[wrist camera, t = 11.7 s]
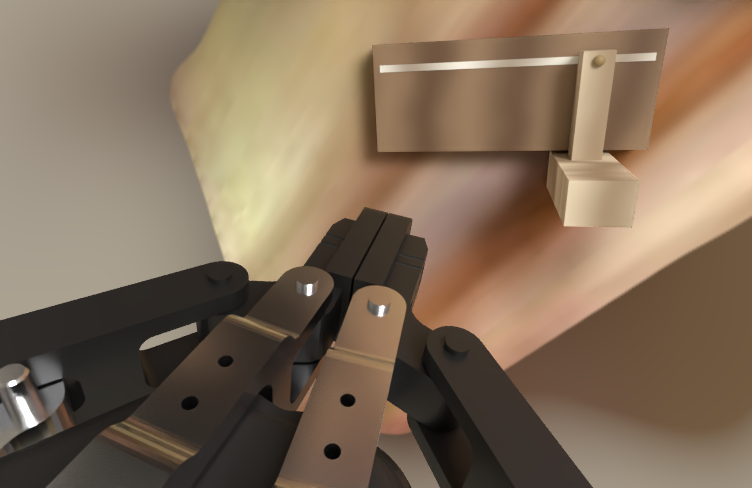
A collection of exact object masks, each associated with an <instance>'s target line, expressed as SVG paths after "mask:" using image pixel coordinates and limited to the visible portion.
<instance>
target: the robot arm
mask: <svg viewBox="0 0 752 488" xmlns="http://www.w3.org/2000/svg"><path fill="white" fill-rule="evenodd" d="M411 226H412V219H411V218H407V217H403V216H399V215H395V214H391V213H389V214H388V213H387V212H383V211H379V210H375V209H371V208H367V207H365V208H364V209H363V211H362V212H361V214H360V215H359V217H358V218H357V220H356V221H354V220H350V219H346V218H344V219H342V220H341V221H339V222H337V223H335V224H333V225H332V226H331V228H330V229H329V231H328V232H327V234H326V236H324V238H323V239H322V241H321V243H319V245H318V246H317V248H316V249H315V250H314V252H313V253H312V255H311V256H310V257H309V259H308V260H307V262H306V263H305V265H304V266H301V267H296V268H292V269H290V270H288V271H287V272H285V273H284V274H283V275H282V276H281V277H280V278H279V279H278V281H274V282H266V281H249V276H248V272H247V271H246V269H245V268H244V267H242V266H241V265H239V264H236V263H233V262H226V261H219V262H213V263H208V264H205V265H201V266H197V267H194V268H190V269H186V270H183V271H179V272H175V273H172V274H168V275H164V276H161V277H157V278H153V279H150V280H146V281H142V282H139V283H135V284H132V285H128V286H124V287H120V288H117V289H113V290H110V291H106V292H102V293H99V294H96V295H92V296H88V297H84V298H80V299H77V300H73V301H70V302H66V303H62V304H58V305H55V306H51V307H48V308H44V309H40V310H37V311H33V312H29V313H26V314H22V315H18V316H15V317H11V318H7V319H4V320H0V488H411V486H410V484H409V482H408V480H407V479H406V477H405V475H404V473H403V472H402V471H401V469H400V468H399V467H398V466H397V464H396V463H395V462H394V461H393V460H392V459H391V458H390V457H389V456H388V455H387V454H386V453H385V452H384V451H382V450H381V449H380V448H379V447H377V443H378V438H379V434H380V429H381V425H382V420H383V415H384V411H385V406H386V402H387V400H388V401H389V402H391V403H392V404H394V405H395V406H397V407H398V408H399V409H401V410H402V411H404V412H405V413H407V421H408V425H409V427H410V429H411V431H412V433H413V435H414V437H415V439H416V441H417V443H418V445H419V447H420V449H421V451H422V453H423V455H424V457H425V459H426V461H427V463H428V465H429V466H430V469H431V470H432V472H433V474H434V476H435V478H436V480H437V482H438V484H439V486H440V488H593V487H592V486H591V485H590V483H589V482H588V481H587V480H586V478H585V477H584V476H583V474H582V473H581V471H580V470H579V469H578V468H577V466H576V465H575V464H574V462H573V461H572V460H571V459H570V457H569V456H568V455H567V453H566V452H565V451H564V449H563V448H562V447H561V445H560V444H559V443H558V441H557V440H556V439H555V438H554V436H553V435H552V434H551V432H550V431H549V430H548V428H547V427H546V426H545V424H544V423H543V422H542V421H541V419H540V418H539V417H538V415H537V414H536V413H535V411H534V410H533V409H532V407H531V406H530V405H529V404H528V402H527V401H526V400H525V398H524V397H523V396H522V394H521V393H520V392H519V391H518V389H517V388H516V387H515V386H514V384H513V383H512V381H511V380H510V379H509V377H508V376H507V375H506V373H505V372H504V371H503V369H502V368H501V367H500V366H499V364H498V363H497V362H496V360H495V359H494V358H493V356H492V355H491V354H490V352H489V351H488V350H487V349H486V347H485V346H484V345H483V343H482V342H481V341H480V340H479V339H478V338H477V337H476V336H475V335H474V334H472V333H471V332H469V331H467V330H465V329H462V328H459V327H454V326H444V327H440V328H437V329H435V330H431V329H429V328H428V327H426V326H424V325H423V324H422V323H420V322H419V321H418V320H417V319H416V318H415V316H414V315H413V313H412V308H413V305H414V302H415V299H416V296H417V293H418V290H419V286H420V282H421V278H422V273H423V269H424V265H425V261H426V256H427V252H428V248H427V245H426V242H425V239H424V238H420V237H417V236H413V235H410V231H411ZM194 322H196V325H197V332H195V333H192V334H190V335H187V336H184V337H181V338H178V339H175V340H172V341H170V342H167V343H164V344H161V345H158V346H155V347H153V348H149V349H146V350H139V348H140V346H141V345H142V344H143V343H144V342H145V341H146V340H147V339H149V338H151V337H153V336H156V335H159V334H162V333H165V332H167V331H171V330H174V329H177V328H180V327H183V326H186V325H189V324H191V323H194ZM333 341H335V345H334V347H333V348H331V345H332V343H333ZM315 379H316V381H315ZM314 381H315V383H314ZM313 383H314V386H313V388H312V391H311V393H310V396H309V399H308V401H307V404H306V406H305V409H304V412H299V411H297V409H298V407H299V406H300V404H301V402H302V401H303V399H304V397H305V396H306V394H307V393H308V391H309V389H310V388H311V386H312V384H313Z"/></svg>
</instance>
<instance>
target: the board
mask: <svg viewBox="0 0 752 488" xmlns="http://www.w3.org/2000/svg"><path fill="white" fill-rule="evenodd" d="M668 32H669V28H666V29H648V30H631V31H613V32H596V33H578V34H560V35H543V36H525V37H508V38H490V39H472V40H455V41H437V42H420V43H402V44H384V45H372V49H373V69H374V89H375V108H376V128H377V148H378V152H427V151H554V150H568V149H569V140H570V131H571V122H572V113H573V104H574V95H575V85H576V76H577V67H578V58H579V51H588V50H608V49H613V50H617V54H616V62H615V69H614V76H613V83H612V90H611V97H610V105H609V112H608V119H607V126H606V133H605V141H604V148H603V150H648V145H649V139H650V134H651V128H652V122H653V117H654V111H655V105H656V100H657V94H658V88H659V83H660V77H661V71H662V66H663V60H664V54H665V49H666V43H667V37H668Z"/></svg>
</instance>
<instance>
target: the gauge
mask: <svg viewBox="0 0 752 488" xmlns="http://www.w3.org/2000/svg"><path fill="white" fill-rule="evenodd" d="M616 54H617V50H613V49H608V50H588V51H579V58H578V67H577V76H576V85H575V95H574V104H573V113H572V122H571V131H570V140H569V149H568V150H554V151H550V154H549V165H548V175H547V186H546V187H547V189H548V191H549V193H550V196H551V198H552V200H553V203H554V205H555V207H556V209H557V212H558V214H559V216H560V219H561V221H562V223H563V225H564V226H580V227H621V228H632V225H633V219H634V213H635V208H636V202H637V196H638V191H639V185H640V180H639V179H637V178H636V177H635V176H634V175H633V174H632V173H631V172H630V171H628V170H627V169H626V168H625V167H624V166H623V165H622V164H621V163H620V162H618V161H617V160H616V159H615V158H614V157H613V156H612V155H611V154H609V153H608V152H607V151H606V150H603V148H604V141H605V133H606V126H607V119H608V112H609V105H610V97H611V90H612V83H613V76H614V69H615V62H616Z"/></svg>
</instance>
